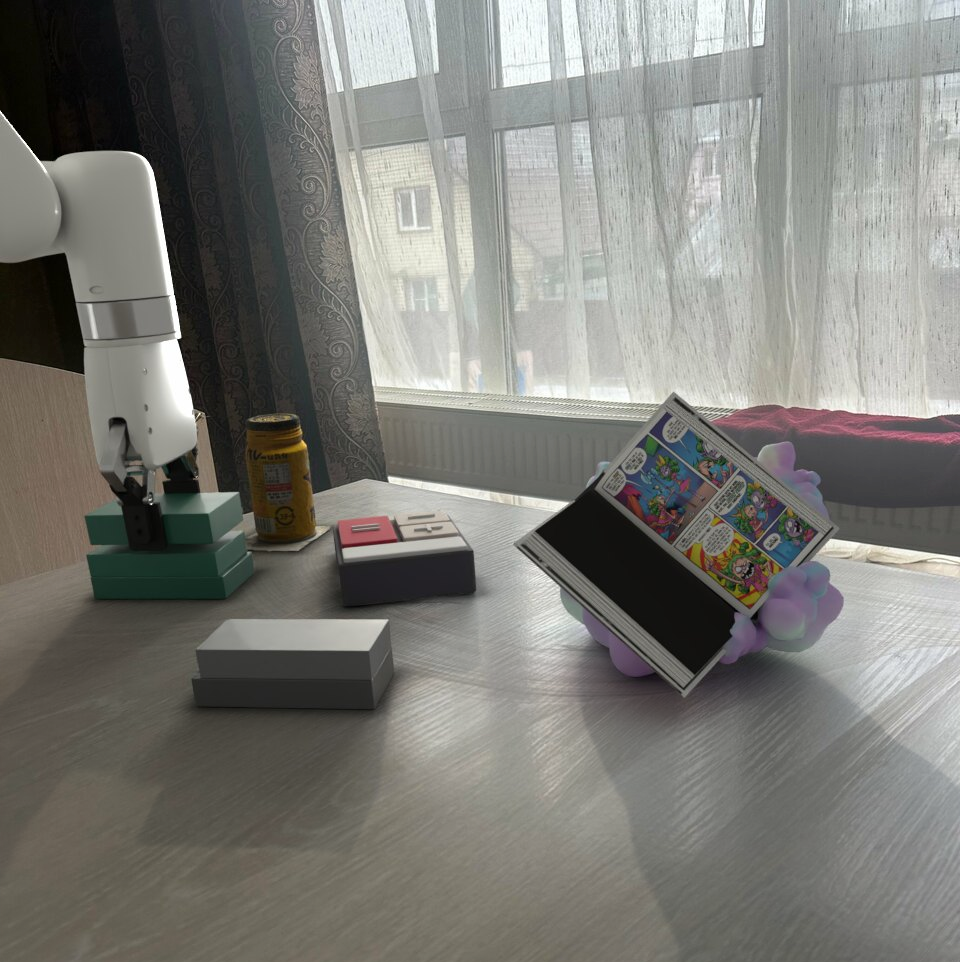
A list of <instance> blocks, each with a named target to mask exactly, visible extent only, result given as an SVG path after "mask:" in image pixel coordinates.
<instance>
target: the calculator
mask: <svg viewBox="0 0 960 962" xmlns="http://www.w3.org/2000/svg"><path fill="white" fill-rule="evenodd" d="M332 536H333V544H334V552H335V560H336V566H337V572H338V579H339V587H340V593H341V601H342V605H343V606H344V607H356V606H357V607H358V606H364V605H365V606H366V605H373V604H374V605H375V604H383V603H393V602H401V601H402V602H403V601H411V600H419V599H427V598H435V597H436V598H437V597H446V596H456V595H465V594H472V593H475V592H476V591H477V580H476V577H477V576H476V566H475V564H476V563H475V552H474V550H473V549H474V548H473V547H471V544H470V543H469V542H468V541H467V539H466V538H465V535H463V534H462V532H461V531H460V530H459V528H458V527H457V525H456V524H455V522H454V521H453V520H452V518H451V516H450V515H449V514H447V513H446V511H444V510H443V509H439V510H430V511H418V512H410V513H409V512H408V513H399V514H394V515H393V519H390V518H389V516H388V515H379V516H369V517H358V518H351V519H350V518H349V519H340V520H337V525H333V527H332Z"/></svg>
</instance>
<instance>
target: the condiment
mask: <svg viewBox="0 0 960 962" xmlns="http://www.w3.org/2000/svg"><path fill="white" fill-rule="evenodd" d="M244 426H245V430H246V439H245V440H246V442H247V446H246V448H245V451H244V454H245V460H246V461H245V462H246V469H247V470H246V471H247V476H248V484H249V491H250V497H251V504H252V512H253V521H254V529H255V533H252V534H251V535H249V536H245V540H246V547H247V551H248V550H252V551H267V552H269V553H270V552H272V551H273V552H274V551H280V552H288V551H289V552H290V551H291V552H292V551H293V552H299V551H300V550H301V549H302V548H305V547H306V545H308V544H310V543H311V542H313V541H314V540H316V539H318V538H319V537H321V536H322V535H323V534H324V533H326V532H327V531H329V530H330V529H332V525H317V521H316V510H315V502H314V494H313V486H312V485H313V483H312V477H311V469H310V468H311V467H310V460H309V451H308V446H307V443H306V442H305V441H304V440H303V439H302V438H303V430H302V429H301V420H300V416H298V415H296V414H293V413H270V414H262V415H257V416H256V415H255V416H253V417H249V418H247V419H246V420H245V424H244Z"/></svg>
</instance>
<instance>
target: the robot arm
mask: <svg viewBox="0 0 960 962" xmlns="http://www.w3.org/2000/svg"><path fill="white" fill-rule="evenodd" d="M57 254H65V256H66V261H67V265H68V271H69V275H70V279H71V280H70V281H71V285H72V290H73V295H74V299H75V306H76V310H77V316H78V321H79V325H80V330H81V335H82V340H83V345H84V348H83V367H84V368H83V369H84V382H85V383H84V385H85V395H86V402H87V403H86V404H87V409H88V419H89V423H90V430H91V437H92V443H93V448H94V453H95V458H96V462H97V464H98V468H99V469H98V470H99V473H100V474H101V475H102V477H103V479H104V480H105V481H106V482H107V484H108V485H109V488H110V491H111V492H112V493H113V494H114V496H115V499H116V501H117V504H118V505H119V506H121V508H122V513H123V518H124V523H125V528H126V533H127V538H128V543H129V547H130V549H131V550H132V551H163V550H165V549H166V548H167V547H168V542H167V537H166V532H165V526H164V521H163V515H162V510H161V505H160V502H154V498H155V494H156V473H157V472H156V471H157V469H160V468H161V469H162V472H163V474H164V476H165V478H166V479H164V480H162V481H161V483H162V489H163V494H173V493H202V492H201V487H200V481H199V479H198V478H199V476H200V469H199V466H198V463H197V458H198V455H199V452H198V451H199V449H198V448H197V444H198V437H199V428H198V425H197V422H196V417H195V410H194V404H193V400H192V395H191V391H190V386H189V380H188V377H187V372H186V368H185V365H184V361H183V357H182V353H181V349H180V345H179V342H178V340H179V339H181V338H182V334H181V329H180V322H179V315H178V311H177V309H178V308H177V305H176V304H177V303H176V298H175V295H174V287H173V286H174V285H173V280H172V275H171V268H170V263H169V257H168V251H167V245H166V238H165V232H164V227H163V220H162V214H161V208H160V203H159V196H158V190H157V183H156V180H155V175H154V171H153V169H152V166H151V165H150V163H149V161H148V160H147V159H146V158H145V157H144V156H142V155H141V154H139V153H136V152H132V151H123V150H94V151H93V150H91V151H82V152H73V153H68V154H64V155H62V156H61V155H60V156H59V157H57V159H55V160H53V161H52V160H51V161H50V160H39V159H38V157H37V156H36V155H35V153H33V151H32V150H31V148H30V147H29V146H28V145H27V143H26V142H25V141H24V139H23V138H22V137H21V135H19V133H18V131H16V129H15V128H14V127H13V125H12V124H11V123H10V122H9V121H8V119H7V118H6V116H5V115H4V114H3V113H2V112H1V111H0V263H3V264H15V263H21V262H26V261H29V260H33V259H37V258H43V257H46V256H53V255H57ZM136 461H137V462H141V464H131V463H133V462H136ZM135 476H139V477H140V476H142V477H141V484H140V483H139V482H138V481H137V479H136V478H135Z"/></svg>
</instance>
